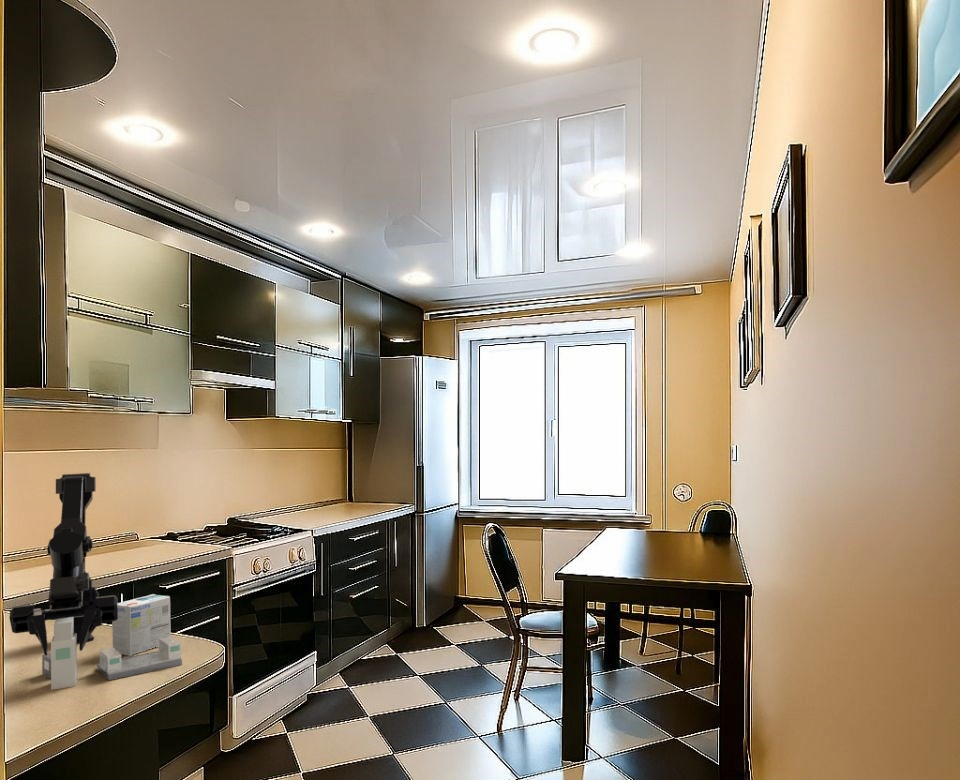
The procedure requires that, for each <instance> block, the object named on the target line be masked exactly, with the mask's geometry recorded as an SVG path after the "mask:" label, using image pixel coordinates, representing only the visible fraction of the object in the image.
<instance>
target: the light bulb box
mask: <svg viewBox="0 0 960 780" xmlns="http://www.w3.org/2000/svg"><path fill="white" fill-rule="evenodd" d="M111 628H112V629H111V630H112V647H113V648H115V649H116V650H117V651H118V652H119V653H120V654H121V655H123V654H124V656H127V655H128V656H127V657H131V656H134V655H136V653H137V654H140V653H144V652H147V651H150V650H152V648H153V649H156V648H159V647H158V646H159V638H161V637H167V636H172V635H171V631H172V630H171V597H170V595H161V594H154V593H152V594H148V595H146V596H141V597H135V598H133V599H130V600H126V601H125V600H124V601H122V602H118V619H117V620H116V621H111ZM155 647H156V648H155ZM149 649H150V650H149ZM146 650H147V651H146ZM143 651H144V652H143ZM139 652H140V653H139ZM133 654H134V655H133ZM130 655H131V656H130Z"/></svg>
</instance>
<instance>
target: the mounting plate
mask: <svg viewBox="0 0 960 780" xmlns="http://www.w3.org/2000/svg"><path fill="white" fill-rule="evenodd" d="M181 665H183V659H182V641H179V640H178V639H176V638H175V637H174V636H172V635H171V636H167V637H161V638H159V647H158V650H157V651H151V652H147V653H142V654H138V655H131V656H126V657H122V654H120V653H119V652H118V651H117V650H116V649H115V648H113V646H111V647H106V648H102V649H99V662H97V664H96V669H97V670H98V671H99V672H100V674H101V675H102V676H103V677H106V678H107V679H106V678H105V679H106V680H107V681H108V680H110V681H113V680H112V679H114V680H118V679H117V678H119V679H123V678H126V677H127V676H128V677H131V676H136V675H140V674H144V673H145V674H146V673H149V672H155V671H157V670H158V671H159V670H162V669H168V668H172V667H176V666H181ZM122 677H123V678H122Z"/></svg>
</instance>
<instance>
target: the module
mask: <svg viewBox="0 0 960 780" xmlns="http://www.w3.org/2000/svg"><path fill="white" fill-rule="evenodd" d="M77 647H78V646H77V633H74V617H68V618H59V619H56V620H54V623H53V636H52V639H51V641H50V653H51V679H50V681H51V682H50V683H51V685H50V689H51V691H52V690H53V689H54V690H58V689H59V690H60V689H65V688H72V687H76V683H77V680H78V669H77V668H78V666H77V665H78V660H77V658H78V656H77V654H78V653H77V650H78V648H77ZM54 690H53V691H54Z"/></svg>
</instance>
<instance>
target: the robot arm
mask: <svg viewBox="0 0 960 780" xmlns="http://www.w3.org/2000/svg"><path fill="white" fill-rule="evenodd" d="M96 478H97V477H95V476H91V473H90V472H85V473H70V474H69V473H67V474H66V473H64V474H62V475H61V477H60V478H56V479H55V495H57V494H58V496H59V500H60V502H61V504H62V506H61V516H60V517H61V519H60V523H59V524H57V526H56V527H55V528H54V529H53V537H51V538H50V539H49V540H48V541H49V542H48V544H47V547H46V550H47V556H50V560H51V565H52V567H53V571H52V578H51V579H50V581H49V592H48V599H47V600H48V602H47V603H48V606H49V609H45V608H41V607H40V608H35V607H36V606H35V603H32V604H25V605H24V604H23V605H15V606H13V607H12V608H11V609H10V610H9V622H10V628H11V632H12V633H13V634H21V633H22V634H23V633H29V635H35V637H36V638H37V640H38V641H39V644H40V646H41V649H42V651H43V655H45V656H46V655H47V654H48V651H49V649H48V648H49V647H48V636H47V634H48V633H47V627H46V626H47V625H46V621H56V619H59V618H68V617H74V633H77V643H79V651H80V652H81V651H83V649H84V647H85V646H86V643H88V642H89V641H92V640H95V637H94V635H93V632H94V631H95V629H96V628H98V627H101V626H102V625H103V623H107V622H108V623H110V622H112V621H116V620H117V619H118V603H119V602H118V596H116V595H115V594H112V595H111V594H110V595H104V596H103V595H101V596H99V595H100V593H99V592H98V591H97V589H96V586H93V580H92V578H91V577H90V573H89V572H87V571H86V557H87V553H91V551H92V549H93V548H94V547H93V546H94V541H93V540H92V538H91V536H90V535H88V533H87V526H86V523H87V522H86V521H87V520H86V519H87V517H86V510H87V509H88V508H89V506H90V504H91V503H92V501H93V498H94V497H93V496H94V492H96V490H97V489H96V488H97V482H96Z"/></svg>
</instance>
